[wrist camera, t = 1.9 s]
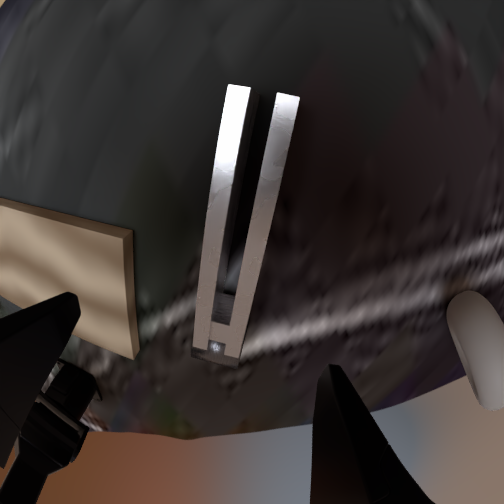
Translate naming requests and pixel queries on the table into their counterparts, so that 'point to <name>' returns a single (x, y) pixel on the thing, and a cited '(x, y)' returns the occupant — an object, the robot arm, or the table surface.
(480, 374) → the donut
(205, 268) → the tongs
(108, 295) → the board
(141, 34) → the table surface
